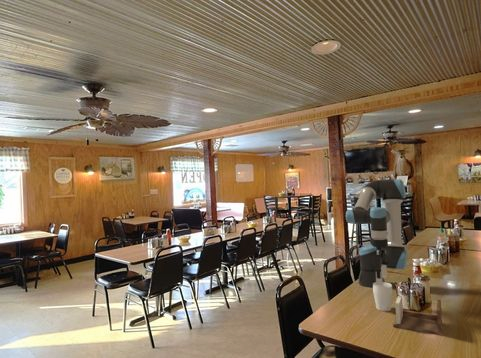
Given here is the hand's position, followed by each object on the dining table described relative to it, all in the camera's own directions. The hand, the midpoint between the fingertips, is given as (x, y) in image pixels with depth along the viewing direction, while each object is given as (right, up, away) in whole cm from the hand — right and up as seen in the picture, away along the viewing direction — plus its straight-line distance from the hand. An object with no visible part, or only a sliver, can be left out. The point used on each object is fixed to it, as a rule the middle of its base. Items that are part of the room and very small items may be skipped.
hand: (381, 281), depth 163 cm
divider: (+1, -12, -16) cm, 20 cm away
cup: (+1, -14, 0) cm, 14 cm away
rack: (+7, -13, -20) cm, 25 cm away
